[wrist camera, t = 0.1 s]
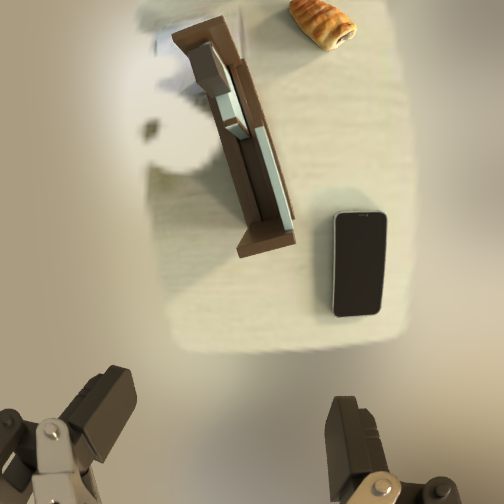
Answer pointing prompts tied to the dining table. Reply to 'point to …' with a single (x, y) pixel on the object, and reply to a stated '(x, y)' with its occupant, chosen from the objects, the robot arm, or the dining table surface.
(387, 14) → the dining table surface
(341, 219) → the smartphone
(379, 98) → the dining table surface
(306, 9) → the pastry
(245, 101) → the window frame
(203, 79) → the sash
